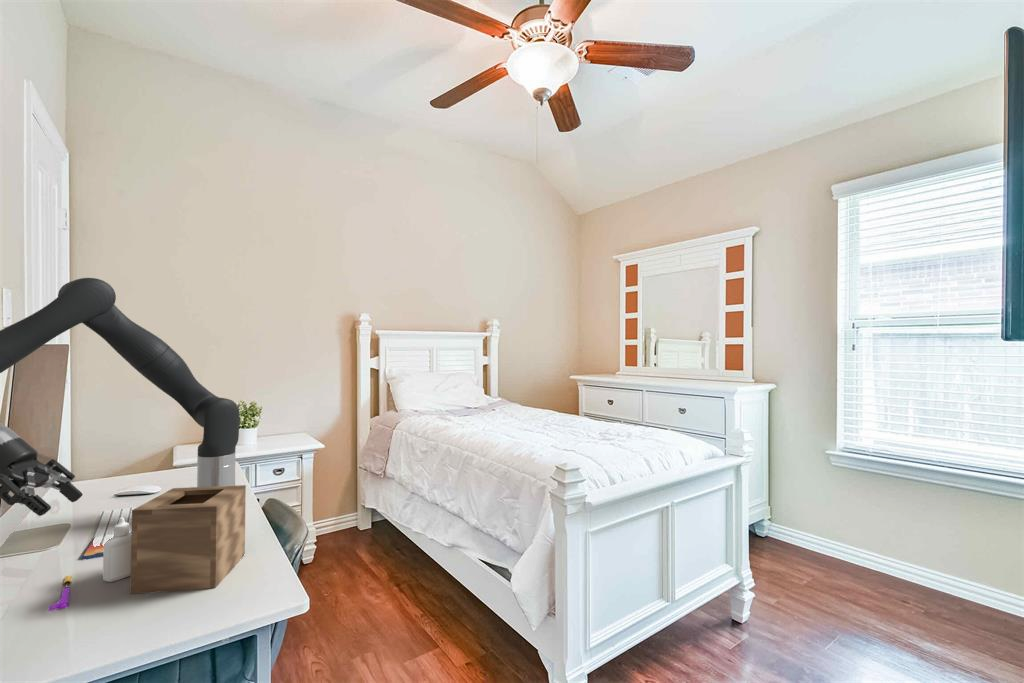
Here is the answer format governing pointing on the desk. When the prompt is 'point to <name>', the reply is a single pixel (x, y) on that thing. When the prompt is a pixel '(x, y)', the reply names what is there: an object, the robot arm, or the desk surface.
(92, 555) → the smartphone
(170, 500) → the box
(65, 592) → the linear piston actuator
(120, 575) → the eye dropper bottle
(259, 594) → the desk surface
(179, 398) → the robot arm
